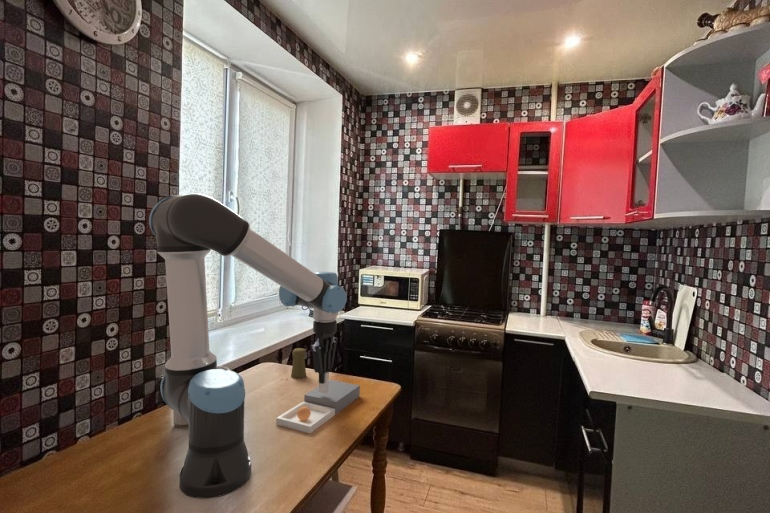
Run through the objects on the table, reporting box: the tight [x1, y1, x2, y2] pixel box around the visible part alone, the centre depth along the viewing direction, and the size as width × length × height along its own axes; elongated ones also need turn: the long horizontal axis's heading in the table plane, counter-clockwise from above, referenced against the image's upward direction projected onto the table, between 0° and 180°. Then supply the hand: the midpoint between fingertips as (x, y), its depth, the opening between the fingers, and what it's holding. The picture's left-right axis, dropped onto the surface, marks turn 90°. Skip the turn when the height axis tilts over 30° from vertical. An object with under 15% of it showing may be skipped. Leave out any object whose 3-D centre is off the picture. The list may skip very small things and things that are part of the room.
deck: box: [303, 379, 361, 415], centre depth 136 cm, size 16×12×4 cm
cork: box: [290, 347, 307, 380], centre depth 160 cm, size 6×6×11 cm
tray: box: [275, 400, 336, 434], centre depth 122 cm, size 14×12×2 cm
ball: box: [297, 406, 311, 421], centre depth 121 cm, size 4×4×4 cm
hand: (323, 391), depth 131 cm, fingers closed
